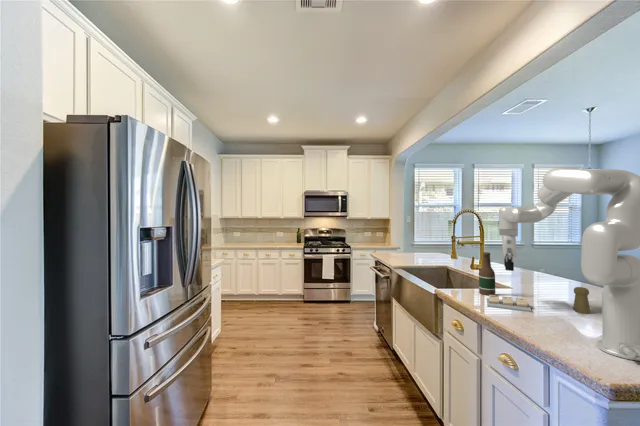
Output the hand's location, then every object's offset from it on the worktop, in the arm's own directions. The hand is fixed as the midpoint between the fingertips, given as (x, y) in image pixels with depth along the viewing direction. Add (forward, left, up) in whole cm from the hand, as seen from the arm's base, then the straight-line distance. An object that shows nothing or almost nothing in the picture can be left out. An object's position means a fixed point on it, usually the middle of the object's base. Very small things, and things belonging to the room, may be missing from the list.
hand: (508, 268), depth 136 cm
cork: (+8, -28, -19) cm, 35 cm away
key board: (-1, +1, -19) cm, 19 cm away
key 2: (-1, +1, -18) cm, 18 cm away
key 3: (-1, +6, -18) cm, 19 cm away
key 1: (-1, -5, -18) cm, 18 cm away
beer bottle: (+17, +9, -19) cm, 27 cm away
